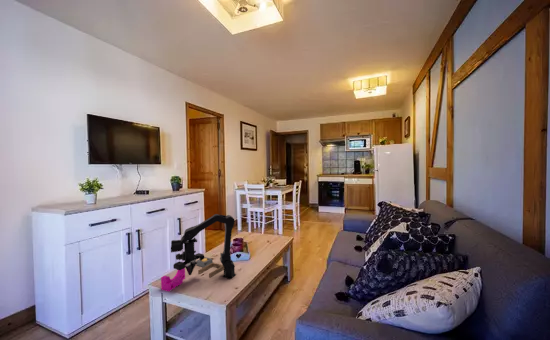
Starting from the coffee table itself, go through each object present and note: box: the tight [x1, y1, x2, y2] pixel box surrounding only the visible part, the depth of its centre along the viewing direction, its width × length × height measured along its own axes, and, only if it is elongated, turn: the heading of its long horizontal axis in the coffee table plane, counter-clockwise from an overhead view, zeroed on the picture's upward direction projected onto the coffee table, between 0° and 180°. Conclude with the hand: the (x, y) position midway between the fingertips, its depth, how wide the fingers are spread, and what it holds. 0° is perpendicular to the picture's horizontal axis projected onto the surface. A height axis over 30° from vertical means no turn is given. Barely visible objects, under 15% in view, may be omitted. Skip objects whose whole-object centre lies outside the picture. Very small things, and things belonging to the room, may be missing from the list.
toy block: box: [160, 268, 186, 292], centre depth 136 cm, size 15×6×8 cm, turn 159°
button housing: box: [196, 256, 214, 268], centre depth 164 cm, size 8×8×3 cm
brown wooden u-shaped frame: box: [197, 262, 224, 279], centre depth 152 cm, size 11×14×2 cm
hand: (189, 274), depth 137 cm, fingers closed
